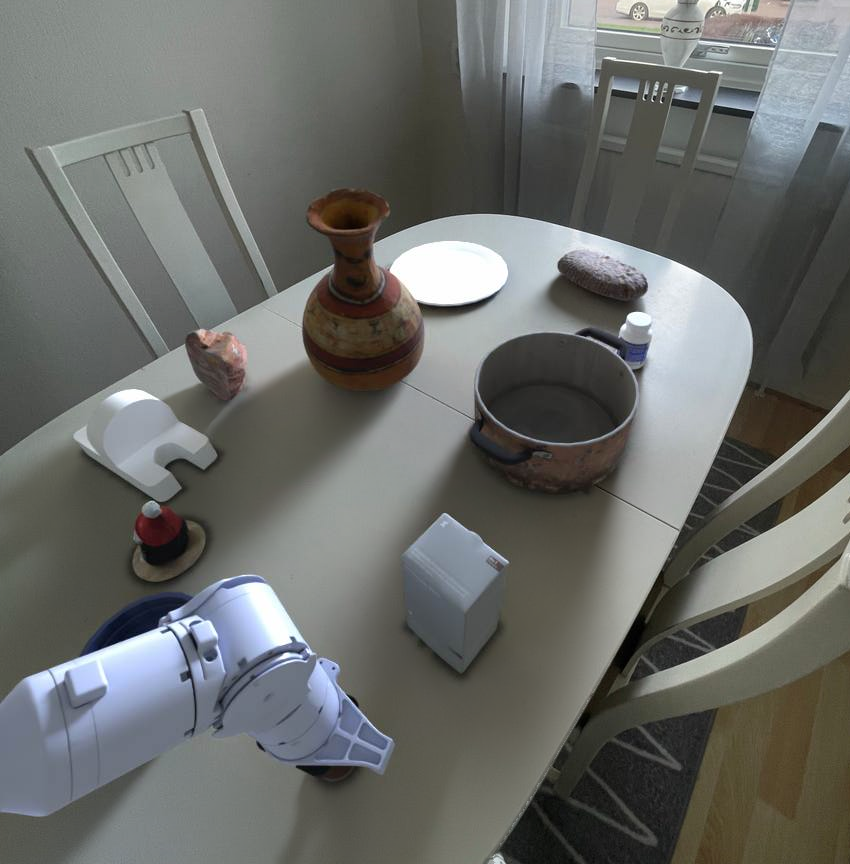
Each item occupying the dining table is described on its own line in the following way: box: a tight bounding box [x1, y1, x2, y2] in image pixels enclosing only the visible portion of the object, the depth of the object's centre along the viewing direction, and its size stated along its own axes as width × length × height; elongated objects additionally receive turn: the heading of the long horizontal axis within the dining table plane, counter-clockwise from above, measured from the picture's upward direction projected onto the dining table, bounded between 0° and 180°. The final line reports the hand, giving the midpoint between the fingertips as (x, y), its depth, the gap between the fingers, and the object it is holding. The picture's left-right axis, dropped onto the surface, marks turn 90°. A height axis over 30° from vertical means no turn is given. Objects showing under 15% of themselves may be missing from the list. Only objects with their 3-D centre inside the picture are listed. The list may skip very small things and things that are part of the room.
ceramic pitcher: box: [301, 187, 425, 392], centre depth 79 cm, size 20×20×30 cm
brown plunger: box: [323, 766, 356, 783], centre depth 46 cm, size 4×4×10 cm
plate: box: [389, 240, 509, 308], centre depth 109 cm, size 25×25×1 cm
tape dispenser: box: [73, 389, 218, 503], centre depth 72 cm, size 10×18×11 cm, turn 60°
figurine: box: [132, 500, 206, 583], centre depth 62 cm, size 8×10×12 cm
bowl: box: [77, 591, 195, 658], centre depth 54 cm, size 13×13×4 cm
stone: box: [184, 328, 248, 402], centre depth 83 cm, size 13×8×10 cm
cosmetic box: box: [400, 513, 510, 674], centre depth 52 cm, size 8×7×16 cm
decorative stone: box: [556, 249, 649, 301], centre depth 105 cm, size 20×14×5 cm
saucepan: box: [469, 326, 640, 494], centre depth 74 cm, size 30×22×11 cm
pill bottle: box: [614, 311, 653, 370], centre depth 87 cm, size 5×5×9 cm
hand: (326, 742), depth 46 cm, fingers closed on brown plunger
